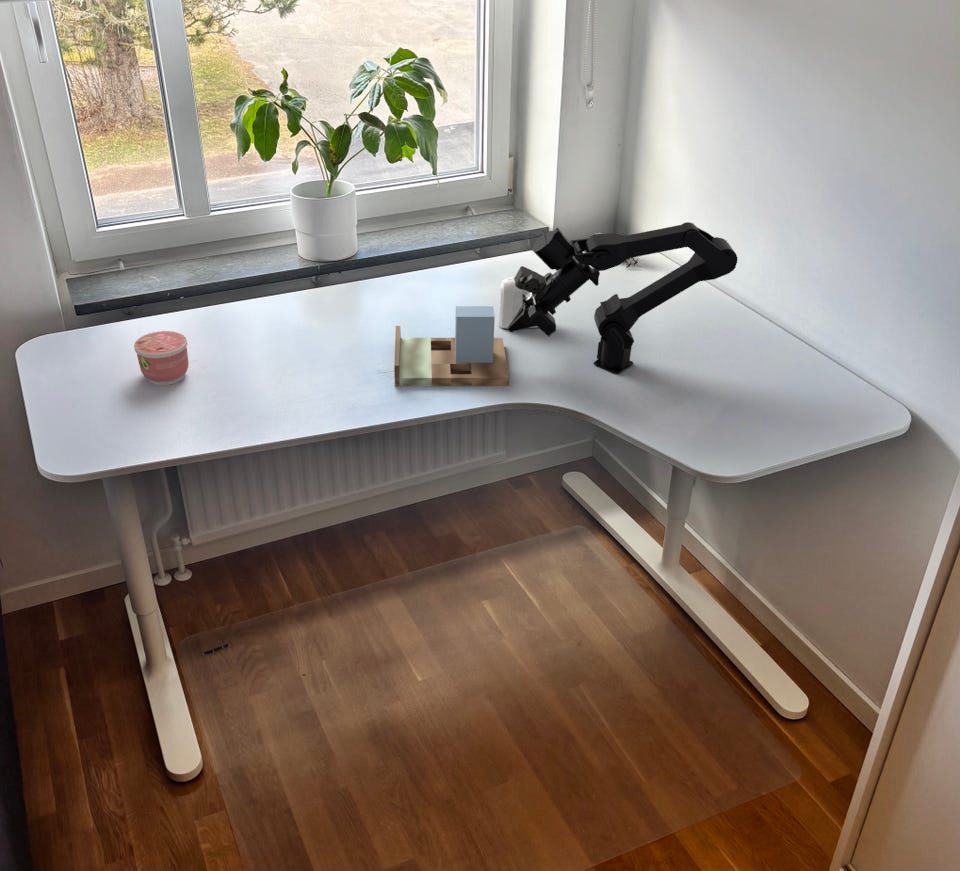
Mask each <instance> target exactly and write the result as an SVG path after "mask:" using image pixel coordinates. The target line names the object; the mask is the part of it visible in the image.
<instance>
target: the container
mask: <svg viewBox="0 0 960 871" xmlns="http://www.w3.org/2000/svg"><path fill="white" fill-rule="evenodd" d="M187 346H188V339H187V337H186V336H185V335H184V334H183V333H180V332H176V331H173V330H161V331H160V330H159V331H153V332H149V333H147V334H144V335H142V336H140V337H139V338H138V339H136V340H135V342H134V343H133V348H134V352H135V353H136V357H137V360H138V366H139V369H140V372H141V374H142V375H143V377H145V379H147V380H148V381H149V382H150V383H151V384H153V385H158V386H167V385H172V384H176V383H178V382H181V381H182V380H183V379H184V378H185V376H186V373H187V372H188V369H189V366H190V365H189V356H188V354H189V353H188V348H187Z"/></svg>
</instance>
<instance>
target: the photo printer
mask: <svg viewBox="0 0 960 871" xmlns="http://www.w3.org/2000/svg"><path fill="white" fill-rule="evenodd" d="M514 278H515V276H514V277H513V276H512V277H511V276H510V277H507V278H505V279H502V280H501V284H500V287H499V300H498V301H499V302H498V303H499V305H498V320H497V325H498V327H499V328H500V329H508V326H509V325H510V323H511V322H512V320H513V319H514V317H515V316H516V314H517V313H518V311H519V309H520V308H521V306H522V294H524V295H525V296H526V295H527V294H528V293H529V292H528V291H525V290H523V289H522V290H521V289H519V288H517V287H516V286H515V280H514ZM532 328H533V329H534V328H535V329H536V328H539V327H538V326H534V327H529V328H528V329H532Z"/></svg>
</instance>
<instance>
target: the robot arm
mask: <svg viewBox="0 0 960 871" xmlns="http://www.w3.org/2000/svg"><path fill="white" fill-rule="evenodd" d="M684 248H689V249H690V250H691V251H693V253H694V254H692V256H691V257H690V258H689V259H688V261H687V262H685V263H684V264H682V265H681V266H679V267H677V268H675V269H674V270H672V271H670V272H669V273H667V274H665V275H664V276H662V277H661V278H659V279H657V280H656V281H653V282H652V283H651V284H648V285H646V286H645V287H644V288H642V289H641V290H639V291H637V292H636V293H633V294H632V295H631V296H628V297H623V298H620V297H619V295H618V293H615V294H613V295H612V296H611V297H609V298H608V299H607V300H604V301H600V302H599V304H600V305H599V306H597V308H596V309H595V311H594V315H593V317H594V318H593V319H594V323H595V326H596V329H597V332H598V334H599V336H600V340H599V342H598V345H597V354H596V360H595V361H593V365H594V366H597V367H599V368H602V369H604V370H606V371H608V372H611V373H612V374H616V375H618V374H620V373H622V372H623V371H625V370H626V369H628V368H630V367H631V366H634V361H632V360H631V352H632V346H633V344H634V343H635V340H634V337H633V334H632V332H631V329H632V327H634V325H635V324H636V322H637V321H638V320H639V318H640V317H642V316H643V315H645V314H647V313H649V312H650V311H652V310H653V309H655V308H657V307H659V306H660V305H662V304H664V303H665V302H667V301H669V300H671V299H672V298H674V297H676V296H677V295H679V294H680V293H682V292H684V291H686V290H688V289H689V288H691V287H693V286H694V285H696V284H697V283H699V282H706V281H713V280H716V279H718V278H722V277H723V276H726V275H729V274H730V273H732V272H734V270H735V269H736V267H737V263H738V256H737V253H736V252H735V250H734V249H733V248H732V246H731V245H730V243H729V242H728V240H726V239H724V238H722V237H717V236H713V235H711V233H709V232H707V231H705V230H703V229H701V228H699V227H697V226H696V225H695V223H693V222H689V221H688V222H683V223H682V224H679V225H674V226H668V227H663V228H658V229H652V230H647V231H642V232H637V233H632V234H624V235H623V234H618V233H617V234H616V233H602V234H596V233H594V234H593V235H590V236H589V237H588V238H581V239H573V240H569V239H568V238H567V237H566V236H565V234H564V233H563V232H562V230H561V229H560V228H559V227H556V228H555V229H554V230H550V231H547V232H546V233H542V235H540V236H539V237H538V238H537V239H536V240H535V242H534V244H533V246H532V248H531V250H532V252H533V253H534V254H535V255H536V256H537V257H538V258H539V259H540V260H541V261H542V262H543V263H544V264H545V265H546V266H547V267H548V268H549V269H550V270H555V272H554V273H552V272H547V273H546V274H545V275H541V274H540V273H539V272H537V271H535V270H532V269H529V268H528V267H525V266H523V265H522V266H520V267H519V269H518V271H517V272H516V275H515V276H514V277H515V278H514V280H515V286H516V287H517V288H519V289H521V290H522V289H523V290H525V291H528V292H529V293H528V294H527V295H526V296H525V295H524V294H522V306H521V308H520V309H519V311H518V313H517V314H516V316H515V317H514V319H513V320H512V322H511V323H510V325H509V326H508V328H507V330H508V331H509V332H510V333H513V332H518V331H521V330H525V329H530V328H529V327H534V326H538V327H537V328H539V330H541V331H542V332H543V334H544V335H546V336H547V337H551V336H552V335H553V334H554V333H555V332H556V331H557V324H556V319H555V317H554V315H555V314H556V313H557V310H556V309H557V308H558V307H559V306H560V305H561V304H562V303H564V301H565V302H566V303H567V304H568V303H569V302H570V301H571V300H572V299H571V296H573V294H574V293H575V292H577V291H578V290H579V288H581V287H582V286H583V285H585V283H587V282H588V281H589V280H590V281H591V282H592V284H594V286H599V280H600V279H599V278H600V275H601V273H600V272H601V271H603V272H604V271H608V270H610V269H614V268H616V267H619V266H620V265H622V264H623V263H624V262H625V263H626V260H627V261H628V260H630V259H632V258H637V257H642V256H643V257H644V256H647V255H648V256H649V255H652V254H658V253H663V252H667V251H673V250H678V249H684Z"/></svg>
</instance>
